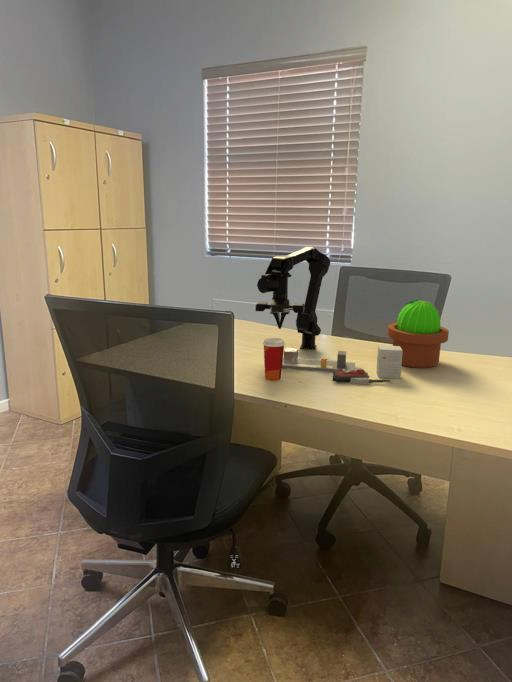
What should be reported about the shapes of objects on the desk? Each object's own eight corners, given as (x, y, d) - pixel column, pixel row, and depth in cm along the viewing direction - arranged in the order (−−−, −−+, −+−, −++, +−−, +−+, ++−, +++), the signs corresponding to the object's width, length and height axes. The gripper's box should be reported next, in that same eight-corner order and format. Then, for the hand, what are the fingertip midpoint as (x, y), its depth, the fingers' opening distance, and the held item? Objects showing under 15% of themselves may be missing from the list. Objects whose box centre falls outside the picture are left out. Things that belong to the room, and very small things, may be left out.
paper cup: (272, 373, 189) (273, 336, 186) (288, 378, 184) (289, 340, 180) (257, 378, 184) (257, 339, 180) (273, 383, 179) (274, 344, 175)
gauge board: (277, 360, 205) (277, 344, 204) (354, 365, 199) (355, 350, 198) (273, 367, 196) (273, 351, 194) (354, 373, 190) (355, 357, 188)
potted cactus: (456, 367, 199) (464, 302, 193) (408, 372, 192) (414, 306, 185) (420, 351, 219) (426, 292, 213) (375, 356, 212) (379, 295, 205)
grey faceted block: (285, 359, 202) (285, 347, 200) (297, 359, 201) (298, 348, 200) (282, 364, 195) (282, 353, 193) (295, 365, 194) (295, 353, 193)
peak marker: (321, 364, 194) (321, 357, 193) (326, 365, 194) (327, 357, 193) (320, 366, 192) (321, 358, 191) (326, 366, 192) (326, 359, 191)
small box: (398, 373, 191) (400, 345, 188) (400, 378, 186) (403, 350, 183) (375, 372, 192) (378, 345, 189) (377, 377, 186) (380, 349, 184)
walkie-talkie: (333, 386, 178) (391, 385, 179) (334, 373, 177) (392, 373, 178) (328, 377, 187) (384, 377, 188) (329, 365, 186) (385, 365, 187)
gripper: (252, 292, 196) (252, 332, 201) (302, 294, 193) (301, 335, 197) (258, 287, 207) (258, 325, 211) (305, 288, 203) (304, 327, 208)
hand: (279, 328), depth 206 cm, fingers closed
